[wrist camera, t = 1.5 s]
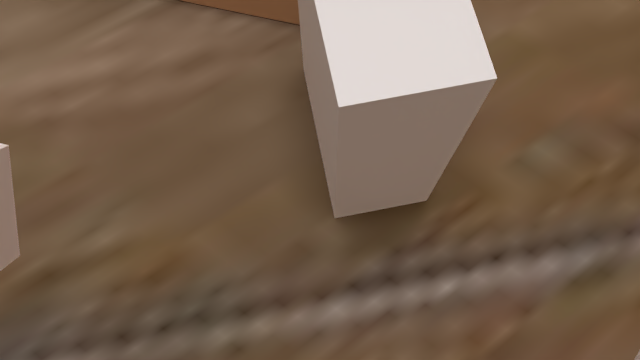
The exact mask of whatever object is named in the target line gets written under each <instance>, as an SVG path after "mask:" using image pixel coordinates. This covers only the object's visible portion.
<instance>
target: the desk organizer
mask: <svg viewBox="0 0 640 360" xmlns="http://www.w3.org/2000/svg"><path fill="white" fill-rule="evenodd" d="M181 1H185V2H190V3H195V4H200V5H205V6H210V7H215V8H220V9H225V10H229V11H234V12H239V13H244V14H249V15H254V16H259V17H264V18H269V19H273V20H278V21H283V22H288V23H293V24H298V25H300V21H299V9H298V0H181Z"/></svg>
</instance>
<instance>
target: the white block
mask: <svg viewBox="0 0 640 360" xmlns="http://www.w3.org/2000/svg"><path fill="white" fill-rule="evenodd" d="M298 9H299V21H300V33H301V44H302V56H303V68H304V75H305V80H306V84H307V89H308V94H309V99H310V103H311V108H312V113H313V118H314V122H315V127H316V132H317V137H318V141H319V146H320V151H321V156H322V160H323V165H324V170H325V175H326V180H327V184H328V189H329V194H330V199H331V203H332V208H333V213H334V218H339V217H344V216H349V215H355V214H360V213H365V212H370V211H375V210H381V209H386V208H391V207H396V206H401V205H407V204H412V203H417V202H422V201H427V199H428V197H429V196H430V194H431V192H432V190H433V189H434V187H435V185H436V183H437V182H438V180H439V178H440V177H441V175H442V173H443V171H444V170H445V168H446V166H447V164H448V163H449V161H450V159H451V157H452V156H453V154H454V152H455V151H456V149H457V147H458V145H459V144H460V142H461V140H462V138H463V137H464V135H465V133H466V131H467V130H468V128H469V126H470V125H471V123H472V121H473V119H474V118H475V116H476V114H477V112H478V111H479V109H480V107H481V106H482V104H483V102H484V100H485V99H486V97H487V95H488V93H489V92H490V90H491V88H492V86H493V85H494V83H495V81H496V80H497V76H496V73H495V70H494V67H493V64H492V62H491V59H490V56H489V53H488V50H487V47H486V44H485V41H484V38H483V35H482V32H481V29H480V26H479V23H478V20H477V17H476V15H475V12H474V9H473V6H472V3H471V0H298Z"/></svg>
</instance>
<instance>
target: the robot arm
mask: <svg viewBox="0 0 640 360" xmlns="http://www.w3.org/2000/svg"><path fill="white" fill-rule="evenodd" d="M19 256H20V251H19V242H18V232H17V222H16V212H15V203H14V193H13V183H12V174H11V164H10V154H9V145H5V144H1V143H0V271H1V270H2V269H4V268H5V267H6V266H7V265H9V264H10V263H11V262H12V261H14V260H15V259H16V258H17V257H19ZM635 360H640V351H639V352H638V354H637V356H636V358H635Z"/></svg>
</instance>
